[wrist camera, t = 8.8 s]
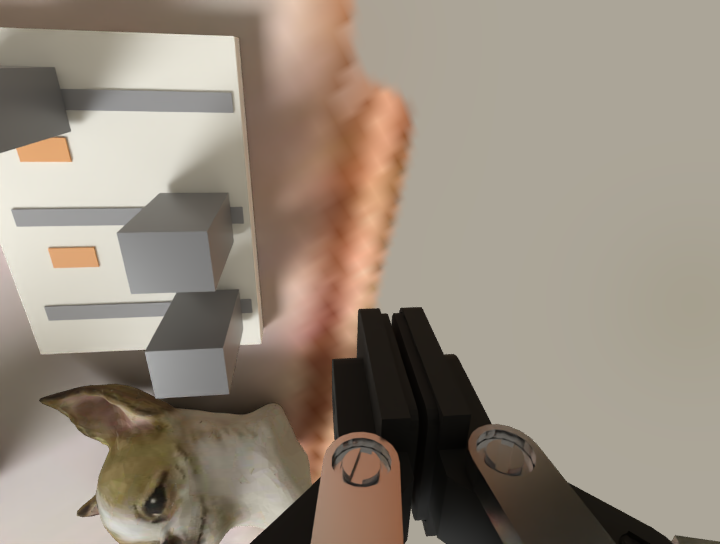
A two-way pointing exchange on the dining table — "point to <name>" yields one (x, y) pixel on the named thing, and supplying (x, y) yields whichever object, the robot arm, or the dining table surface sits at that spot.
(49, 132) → the slider
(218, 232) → the slider
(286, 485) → the ceramic sculpture
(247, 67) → the dining table surface
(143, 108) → the switch panel
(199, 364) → the slider
